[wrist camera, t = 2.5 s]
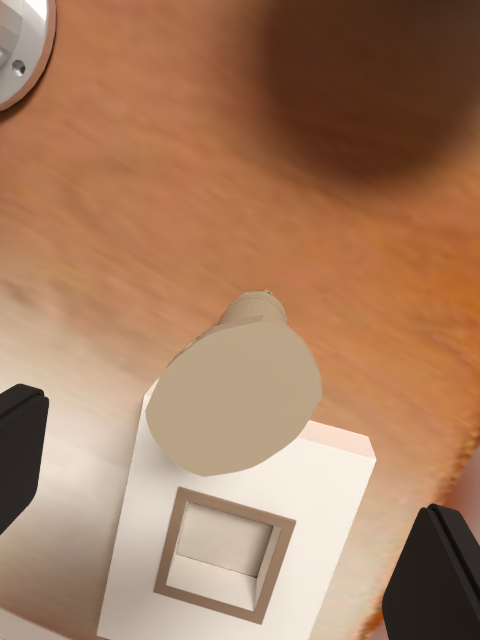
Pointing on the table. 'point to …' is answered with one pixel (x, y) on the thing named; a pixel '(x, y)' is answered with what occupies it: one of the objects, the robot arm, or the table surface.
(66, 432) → the table surface
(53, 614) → the table surface
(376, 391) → the table surface
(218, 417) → the handle
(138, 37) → the table surface
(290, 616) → the socket board
